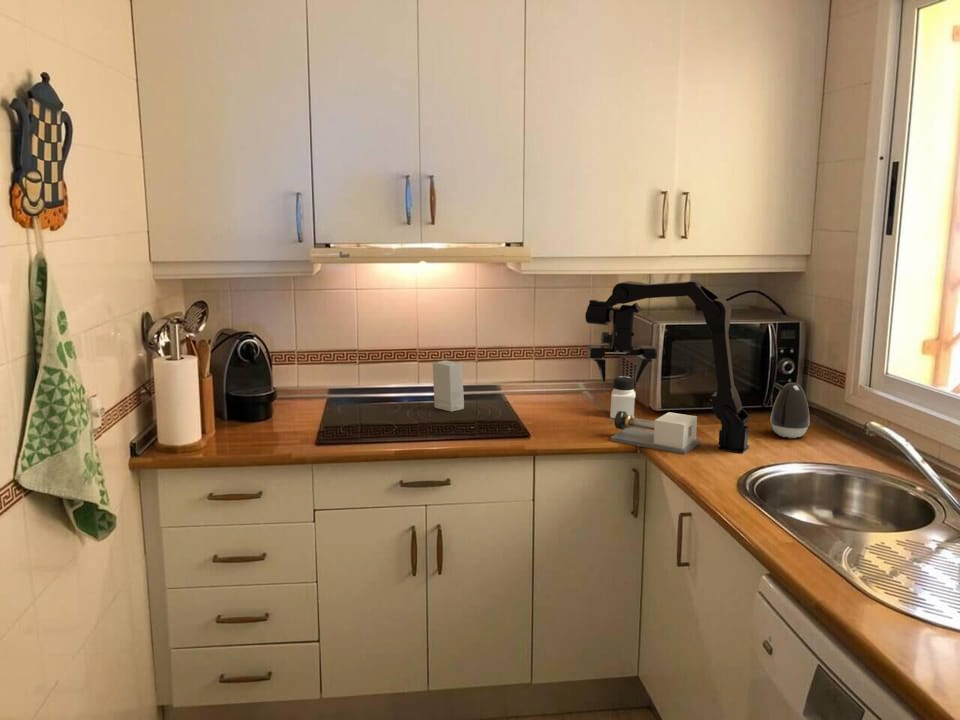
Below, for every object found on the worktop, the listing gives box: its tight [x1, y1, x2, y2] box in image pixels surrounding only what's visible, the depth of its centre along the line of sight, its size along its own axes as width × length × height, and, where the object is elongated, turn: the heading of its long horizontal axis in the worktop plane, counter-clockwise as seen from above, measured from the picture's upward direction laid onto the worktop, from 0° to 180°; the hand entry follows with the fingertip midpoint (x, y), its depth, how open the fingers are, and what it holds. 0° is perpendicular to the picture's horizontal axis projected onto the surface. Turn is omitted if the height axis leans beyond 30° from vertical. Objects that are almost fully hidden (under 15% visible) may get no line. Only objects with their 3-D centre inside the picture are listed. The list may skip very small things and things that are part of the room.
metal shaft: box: [614, 411, 655, 431], centre depth 219 cm, size 16×5×5 cm, turn 56°
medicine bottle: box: [609, 376, 636, 419], centre depth 243 cm, size 7×7×12 cm
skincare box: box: [432, 360, 465, 412], centre depth 251 cm, size 8×6×15 cm
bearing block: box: [609, 411, 701, 455], centre depth 217 cm, size 21×12×8 cm, turn 56°
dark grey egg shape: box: [769, 382, 811, 439], centre depth 223 cm, size 10×10×15 cm
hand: (619, 382), depth 225 cm, fingers open, 9 cm apart
